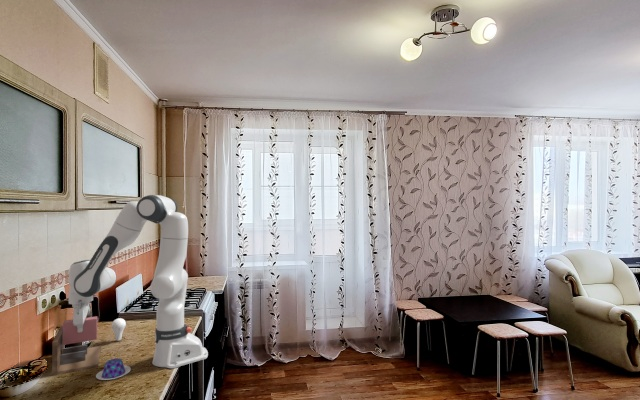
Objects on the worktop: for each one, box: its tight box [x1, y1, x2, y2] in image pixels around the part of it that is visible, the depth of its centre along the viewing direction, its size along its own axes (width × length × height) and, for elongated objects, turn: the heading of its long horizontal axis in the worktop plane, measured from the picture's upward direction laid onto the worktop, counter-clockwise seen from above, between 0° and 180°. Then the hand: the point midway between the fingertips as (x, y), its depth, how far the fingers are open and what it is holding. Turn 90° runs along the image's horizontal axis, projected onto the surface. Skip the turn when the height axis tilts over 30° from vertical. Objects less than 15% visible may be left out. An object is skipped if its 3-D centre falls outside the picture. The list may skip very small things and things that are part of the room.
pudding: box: [95, 357, 132, 381], centre depth 140 cm, size 12×12×5 cm
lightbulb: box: [111, 317, 127, 342], centre depth 174 cm, size 6×6×11 cm
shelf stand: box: [49, 325, 102, 377], centre depth 151 cm, size 16×22×13 cm
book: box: [62, 315, 98, 345], centre depth 152 cm, size 12×4×9 cm, turn 119°
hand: (80, 329), depth 152 cm, fingers closed on book, 4 cm apart
